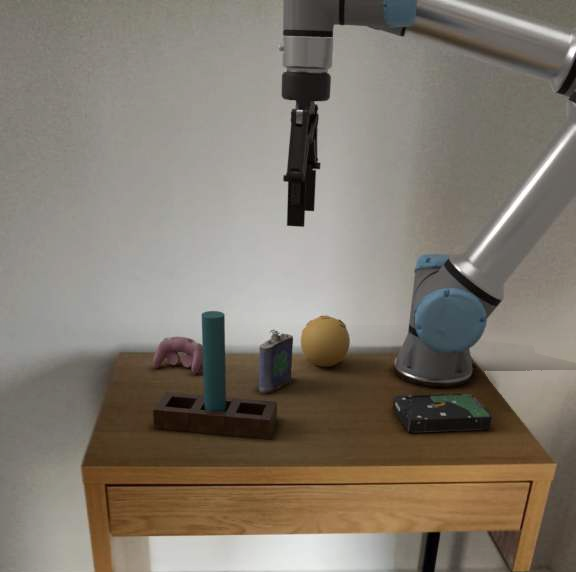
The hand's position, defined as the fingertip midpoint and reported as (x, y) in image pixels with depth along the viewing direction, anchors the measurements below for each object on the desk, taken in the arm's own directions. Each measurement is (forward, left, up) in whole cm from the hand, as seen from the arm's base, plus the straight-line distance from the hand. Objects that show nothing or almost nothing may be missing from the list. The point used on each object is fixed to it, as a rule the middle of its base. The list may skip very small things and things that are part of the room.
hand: (301, 218), depth 125 cm
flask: (+4, -1, -31) cm, 31 cm away
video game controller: (+24, -6, -31) cm, 40 cm away
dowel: (+11, +18, -31) cm, 37 cm away
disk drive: (-27, +8, -31) cm, 42 cm away
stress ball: (-4, -14, -31) cm, 34 cm away
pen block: (+11, +18, -31) cm, 37 cm away
